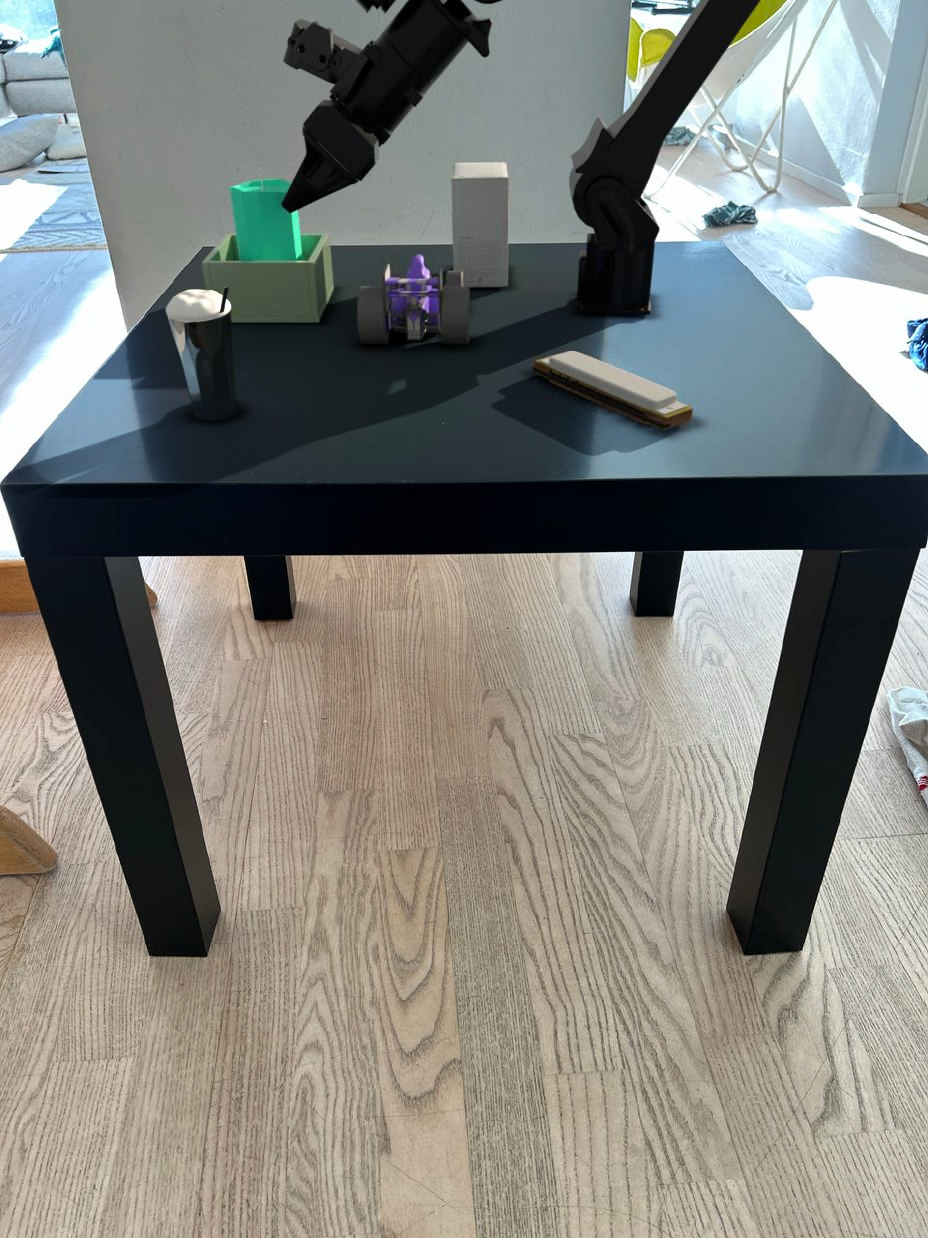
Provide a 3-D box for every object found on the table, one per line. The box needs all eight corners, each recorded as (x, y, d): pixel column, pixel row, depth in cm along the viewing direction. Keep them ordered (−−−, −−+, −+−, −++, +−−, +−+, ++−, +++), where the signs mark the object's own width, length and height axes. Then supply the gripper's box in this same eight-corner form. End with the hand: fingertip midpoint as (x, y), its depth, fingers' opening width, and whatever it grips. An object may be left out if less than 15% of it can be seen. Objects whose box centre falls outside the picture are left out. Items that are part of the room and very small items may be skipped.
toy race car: (474, 298, 99) (473, 229, 95) (468, 352, 86) (468, 275, 83) (377, 297, 99) (374, 229, 95) (358, 351, 87) (353, 275, 83)
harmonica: (531, 375, 82) (532, 351, 81) (560, 366, 83) (561, 343, 82) (662, 434, 72) (665, 408, 71) (691, 423, 74) (695, 397, 73)
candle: (258, 313, 94) (240, 176, 87) (235, 296, 98) (217, 165, 91) (316, 302, 96) (304, 168, 89) (292, 286, 100) (278, 157, 94)
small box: (507, 288, 101) (509, 177, 95) (452, 289, 101) (450, 177, 95) (506, 266, 108) (507, 160, 102) (454, 266, 108) (452, 161, 102)
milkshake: (225, 432, 73) (203, 295, 67) (172, 417, 76) (147, 283, 70) (266, 410, 76) (248, 278, 71) (214, 396, 79) (193, 267, 73)
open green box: (333, 289, 101) (329, 233, 98) (319, 322, 93) (313, 262, 90) (234, 289, 102) (226, 233, 99) (210, 322, 93) (201, 262, 90)
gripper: (349, -26, 89) (245, 112, 96) (318, -15, 74) (197, 149, 81) (440, 72, 94) (333, 198, 100) (428, 102, 78) (304, 248, 85)
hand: (294, 196), depth 92 cm, fingers open, 9 cm apart
